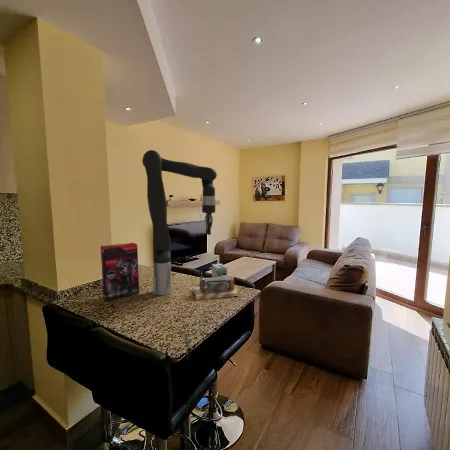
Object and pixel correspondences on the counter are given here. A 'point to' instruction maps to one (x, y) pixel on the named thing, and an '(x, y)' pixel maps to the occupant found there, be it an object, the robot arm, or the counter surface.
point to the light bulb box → (218, 270)
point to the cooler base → (213, 295)
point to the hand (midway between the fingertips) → (208, 234)
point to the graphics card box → (119, 270)
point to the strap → (219, 278)
